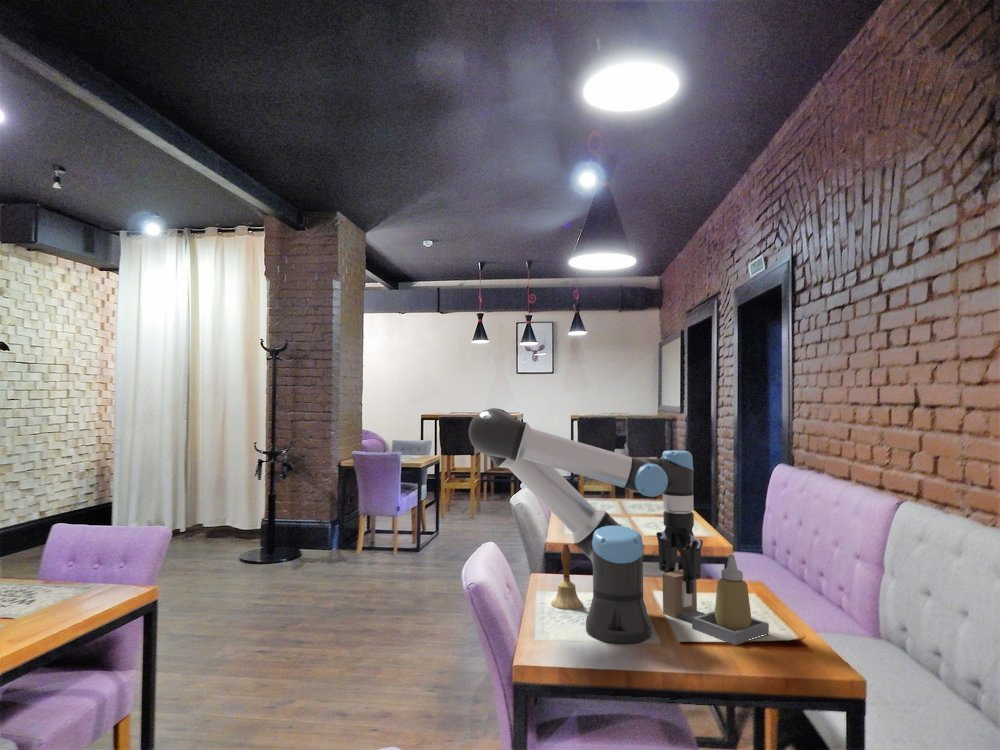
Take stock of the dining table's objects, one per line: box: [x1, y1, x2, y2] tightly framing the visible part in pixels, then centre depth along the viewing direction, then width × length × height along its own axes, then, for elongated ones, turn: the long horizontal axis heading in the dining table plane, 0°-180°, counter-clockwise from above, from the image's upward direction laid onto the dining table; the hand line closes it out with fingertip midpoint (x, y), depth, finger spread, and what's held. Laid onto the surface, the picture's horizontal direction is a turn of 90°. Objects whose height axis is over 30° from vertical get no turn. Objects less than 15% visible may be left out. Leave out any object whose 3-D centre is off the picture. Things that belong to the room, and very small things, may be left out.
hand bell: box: [551, 543, 584, 610], centre depth 162 cm, size 8×8×16 cm
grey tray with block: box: [662, 569, 770, 646], centre depth 147 cm, size 23×12×10 cm, turn 32°
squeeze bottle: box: [714, 554, 752, 631], centre depth 141 cm, size 8×8×18 cm
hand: (679, 603), depth 155 cm, fingers closed on grey tray with block, 4 cm apart
